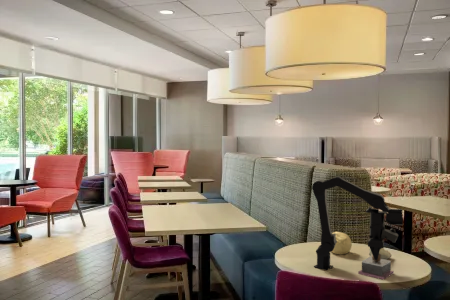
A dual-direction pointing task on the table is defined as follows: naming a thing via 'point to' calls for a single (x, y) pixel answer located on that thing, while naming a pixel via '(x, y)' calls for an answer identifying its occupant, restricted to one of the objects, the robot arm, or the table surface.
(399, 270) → the table surface
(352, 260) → the table surface
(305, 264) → the table surface
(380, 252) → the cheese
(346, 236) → the sculpture
